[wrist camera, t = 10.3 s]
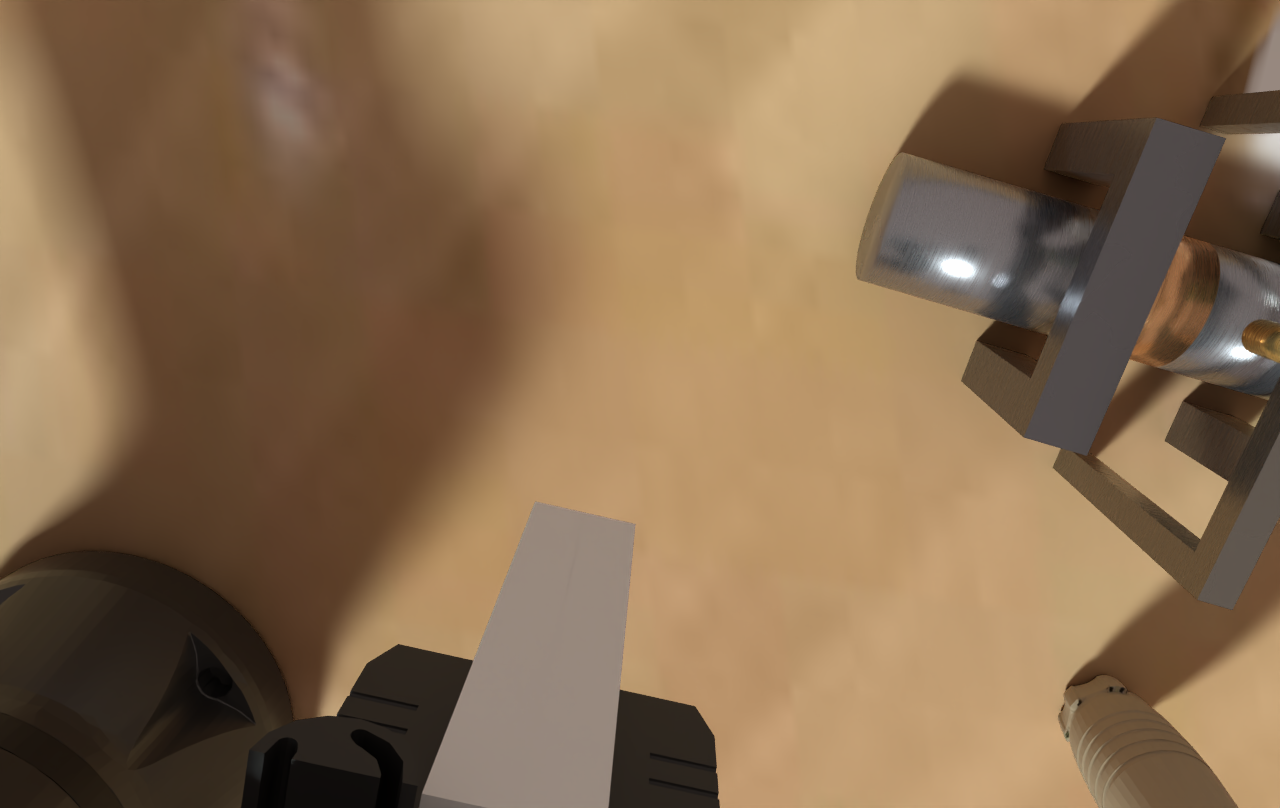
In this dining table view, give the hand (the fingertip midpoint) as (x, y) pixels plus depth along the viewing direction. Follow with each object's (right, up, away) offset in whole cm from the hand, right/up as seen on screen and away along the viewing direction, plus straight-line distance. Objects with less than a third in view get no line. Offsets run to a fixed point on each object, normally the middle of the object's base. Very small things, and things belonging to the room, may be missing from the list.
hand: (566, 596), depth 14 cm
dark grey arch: (+15, +8, +20) cm, 27 cm away
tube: (+18, +7, +20) cm, 28 cm away
